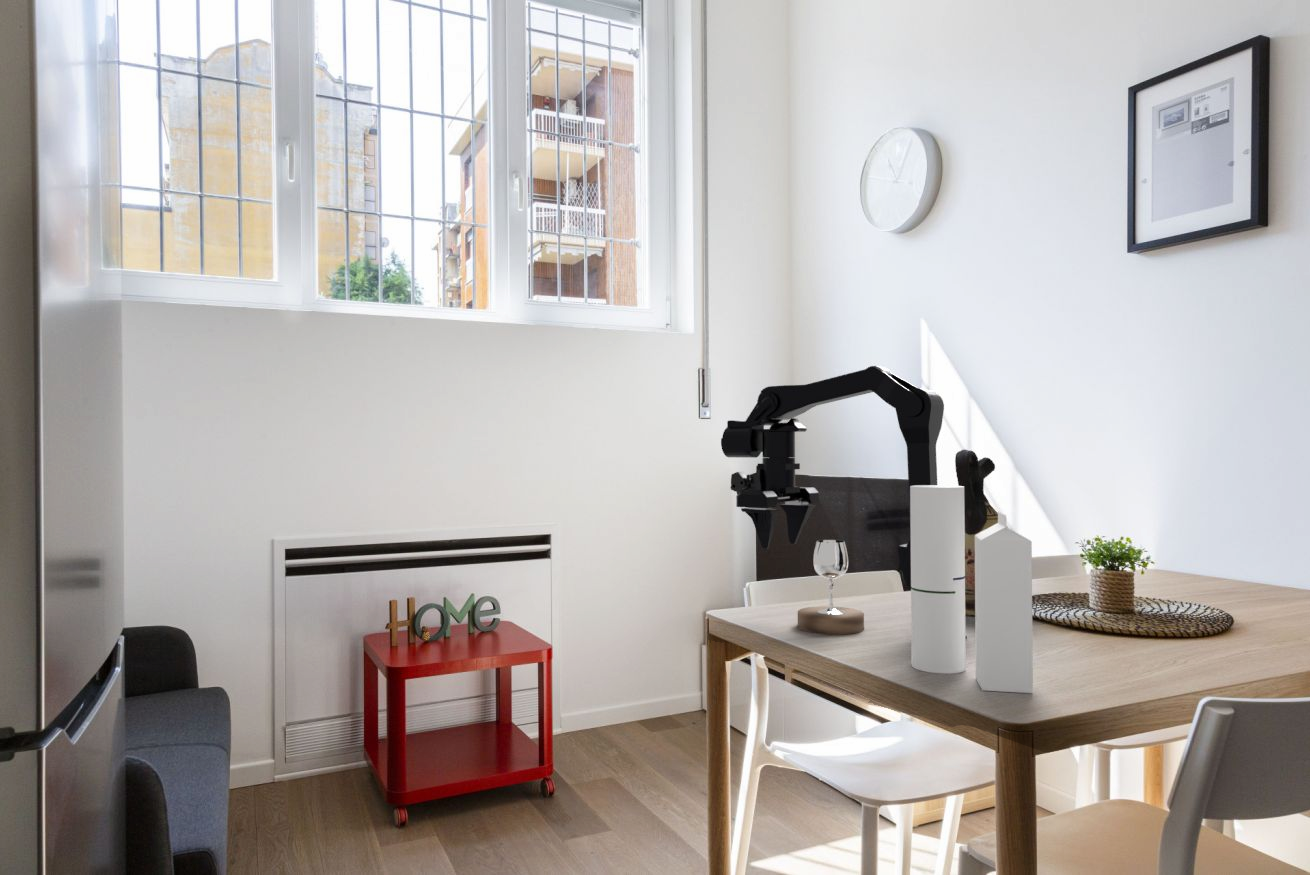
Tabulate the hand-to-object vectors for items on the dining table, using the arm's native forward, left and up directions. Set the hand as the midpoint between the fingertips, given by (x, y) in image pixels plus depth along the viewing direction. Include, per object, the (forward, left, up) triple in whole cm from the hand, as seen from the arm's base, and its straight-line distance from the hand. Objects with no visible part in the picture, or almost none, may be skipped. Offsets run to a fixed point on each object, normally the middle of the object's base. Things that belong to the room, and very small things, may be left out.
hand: (779, 546), depth 151 cm
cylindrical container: (-34, +14, -13) cm, 39 cm away
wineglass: (-10, 0, -11) cm, 15 cm away
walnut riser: (-10, 0, -13) cm, 16 cm away
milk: (-44, +18, -13) cm, 49 cm away
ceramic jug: (-25, -28, -13) cm, 40 cm away
